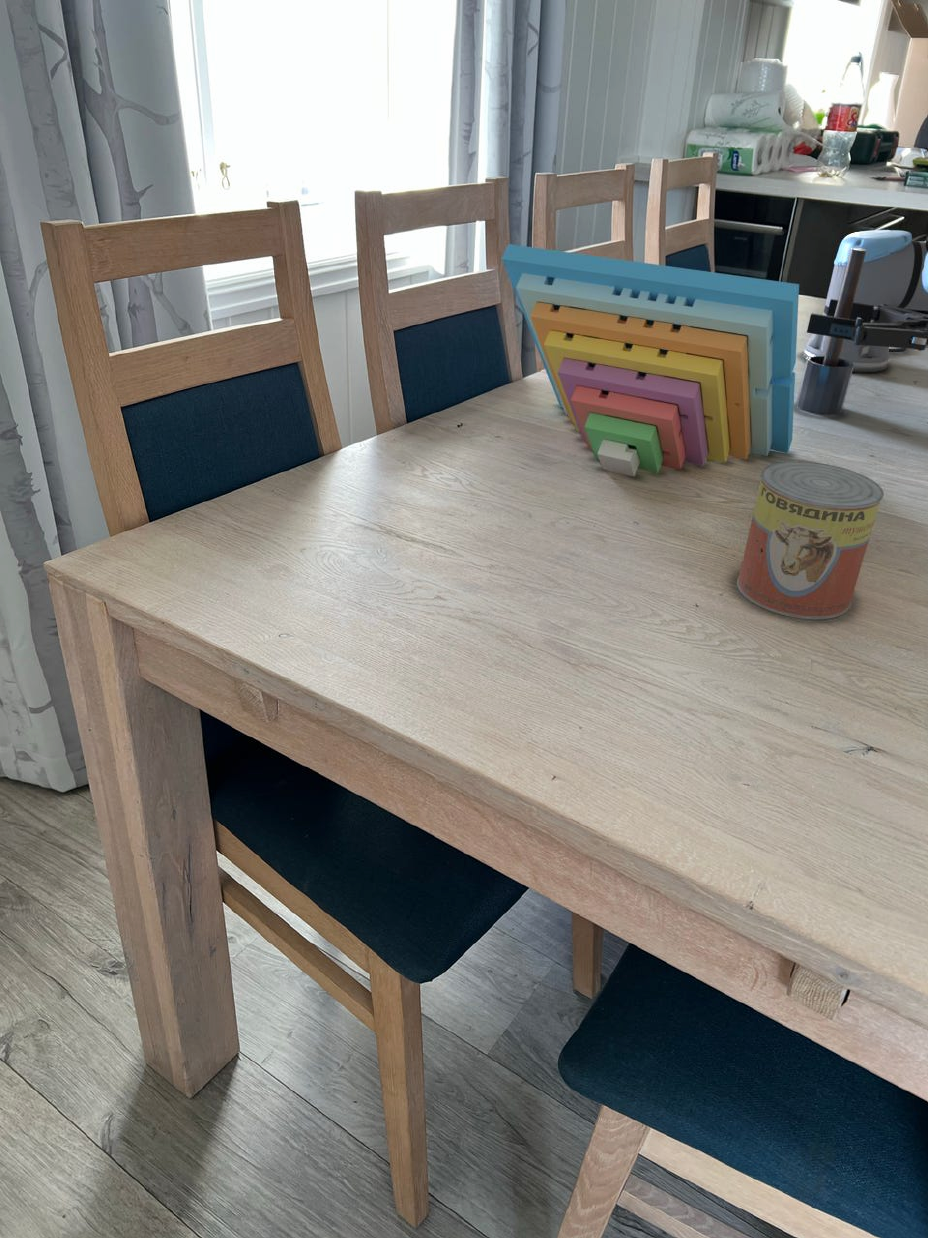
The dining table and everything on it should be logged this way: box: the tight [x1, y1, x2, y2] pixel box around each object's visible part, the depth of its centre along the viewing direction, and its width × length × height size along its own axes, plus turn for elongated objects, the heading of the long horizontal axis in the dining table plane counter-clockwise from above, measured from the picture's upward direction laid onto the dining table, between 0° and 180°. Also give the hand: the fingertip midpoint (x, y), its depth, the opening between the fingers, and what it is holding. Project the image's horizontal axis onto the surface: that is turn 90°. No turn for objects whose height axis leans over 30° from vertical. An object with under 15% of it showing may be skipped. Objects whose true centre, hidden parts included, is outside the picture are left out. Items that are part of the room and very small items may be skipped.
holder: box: [795, 356, 854, 416], centre depth 149 cm, size 7×7×8 cm
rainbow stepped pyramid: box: [501, 243, 800, 478], centre depth 123 cm, size 35×18×35 cm
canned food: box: [736, 460, 885, 621], centre depth 93 cm, size 11×11×12 cm
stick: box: [823, 248, 866, 367], centre depth 145 cm, size 2×2×24 cm
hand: (819, 315), depth 145 cm, fingers open, 13 cm apart
